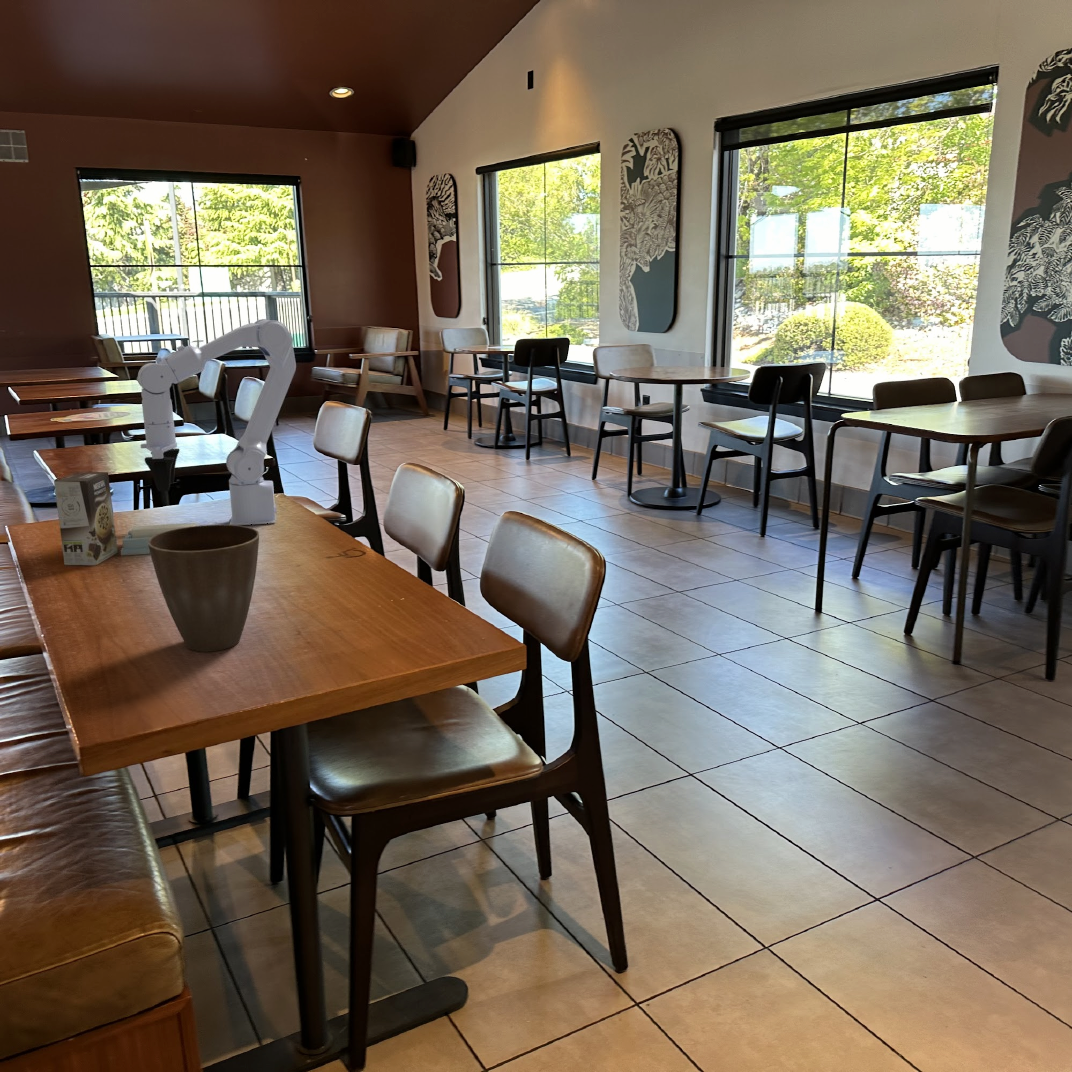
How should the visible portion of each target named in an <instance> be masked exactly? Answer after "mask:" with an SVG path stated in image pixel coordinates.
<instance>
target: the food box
mask: <svg viewBox="0 0 1072 1072" xmlns="http://www.w3.org/2000/svg"><path fill="white" fill-rule="evenodd" d="M53 483H54V485H53V486H54V491H55V500H56V506H57V507H56V508H57V509H56V510H57V516H58V524H59V531H60V540H61V545H62V554H63V563H64V566H97V565H99V564H101V563H102V562H104V561H106V560H107V559H109V558H111V557H113V556H114V555H116V554H118V545H117V544H118V543H117V536H116V527H115V519H114V511H113V503H112V495H111V485H110V477H109V472H108V471H97V472H95V471H94V472H93V471H92V472H75V473H73V474H70V475H68V476H65V477H62V478H59V479H57V480H54V481H53Z"/></svg>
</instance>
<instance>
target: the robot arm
mask: <svg viewBox="0 0 1072 1072" xmlns="http://www.w3.org/2000/svg"><path fill="white" fill-rule="evenodd" d="M293 345H294V338H293V336H292V334H291V333H290V331H289V329H288V328H287V326H286V325H285V324H284V323H283V322H281V321H280V320H277V319H276V320H274V319H272V320H270V319H266V318H262V319H257V320H256V321H255V322H251V323H246V324H243V325H242V326H239V327H237V328H236V327H235V329H232V330H230V331H229V332H227V333H225V334H223V335H221V336H219V337H216V338H215V339H213V340H211V341H210V342H208V343H206V344H204V345H202V346H200V347H195V346H192V345H187V346H184V345H179V346H178V347H176V351H174V352H172V353H170V354H168V355H166V356H163V357H161V356H158V357H155V361H156V363H155V362H154V363H152V362H150V363H146V364H144V365H143V366H141V367H140V369H139V370H138V374H137V377H136V381H137V383H138V385H139V386H140V387H141V394H140V395H141V399H142V400H141V407H142V409H141V410H142V414H143V415H142V417H143V425H144V432H145V434H144V436H145V443H141V444H140V449H146V450H148V451H149V452H150V454H151V456H148V457H147V456H145V457H144V462H145V465H147V467H148V469H149V470H150V472H151V475H152V478H153V481H154V483H155V487H156V489H157V492H169V491H170V488H171V484H174V483H175V482H174V481H175V474H176V473H175V471H176V463H177V459H178V455H179V453H180V448H177V447H178V443H177V441H176V431H175V421H174V413H173V412H174V411H173V404H172V403H173V402H172V399H171V392H170V391H171V390H170V389H171V387H172V384H175V385H176V384H178V383H181V382H182V381H185V380H187V379H188V378H191V377H193V376H195V375H197V374H199V373H201V372H204V370H205V367H206V364H207V362H209V361H212V360H214V359H216V358H218V357H221V356H223V355H225V354H228V353H230V352H232V351H235V350H237V349H239V348H241V347H245V348H258V349H259V351H261V353H263V356H264V357H265V360H266V362H267V363H268V365H269V370H268V373H267V376H266V377H265V381H264V383H263V385H262V388H261V390H260V393H259V396H258V397H257V400H256V403H255V405H254V408H253V410H252V414H251V416H250V419H249V420H248V423H247V426H246V429H245V430H244V433H243V435H242V436H241V438H239V440H238V442H237V444H236V446H235V448H234V449H232V451H230V452H229V453H228V455H227V457H226V460H225V464H226V468H227V471H229V473H231V476H230V478H229V479H228V487H229V497H230V507H231V517H230V522H229V525H238V526H248V525H249V526H250V525H251V524H252V525H262V524H263V525H265V524H266V525H267V523H268V524H275V523H276V519H277V518H276V517H277V516H276V514H278V513H277V511H278V510H277V505H276V503H275V493H274V491H275V489H274V481H273V480H265V479H264V477H263V474H264V472H265V465H264V463H265V462H264V460H265V458H266V456H267V455H266V454H267V443H268V440H269V438H270V436H271V432H272V430H273V428H274V425H275V422H276V420H277V418H278V415H279V413H280V410H281V407H282V405H283V403H284V401H285V397H286V395H287V393H288V390H289V388H290V384H291V383H292V380H293V378H294V375H295V373H296V369H297V363H296V358H295V357H296V356H295V351H294V346H293Z"/></svg>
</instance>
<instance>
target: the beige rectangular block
mask: <svg viewBox="0 0 1072 1072" xmlns="http://www.w3.org/2000/svg"><path fill="white" fill-rule="evenodd" d="M192 526H198V522H187V523H170V524H169V523H167V524H152V525H151V524H150V525H138V526H137V525H135V526H132V528H131V529H130V531H131V534H132V538H144V537H153V536H155V535H157V534H160V533H163V532H166V531H170V530H174V529H179V528H185V527H192Z"/></svg>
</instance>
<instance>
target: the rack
mask: <svg viewBox="0 0 1072 1072" xmlns="http://www.w3.org/2000/svg"><path fill="white" fill-rule="evenodd" d="M150 538H152V537H144V538H132V534H131V530H129V531H128V532H127V534H126V535H125V537H124V538H123V539H122V548H121V550H120V555H121V556H133V555H134V556H135V555H149V554H150V550H149V546H148V541H149V539H150ZM150 555H151V554H150Z"/></svg>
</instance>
